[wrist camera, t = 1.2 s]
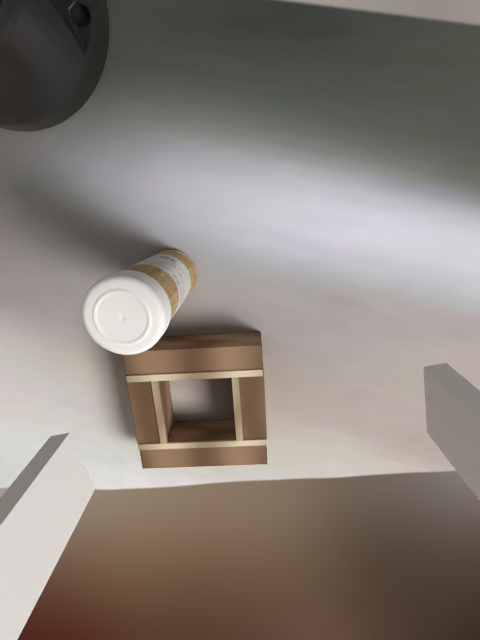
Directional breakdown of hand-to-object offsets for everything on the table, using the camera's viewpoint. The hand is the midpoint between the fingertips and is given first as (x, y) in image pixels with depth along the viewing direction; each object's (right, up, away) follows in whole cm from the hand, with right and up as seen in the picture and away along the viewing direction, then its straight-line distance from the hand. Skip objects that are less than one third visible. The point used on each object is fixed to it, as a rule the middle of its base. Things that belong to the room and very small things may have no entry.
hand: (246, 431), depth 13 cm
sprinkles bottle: (-6, +8, +19) cm, 21 cm away
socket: (-4, -3, +22) cm, 23 cm away
